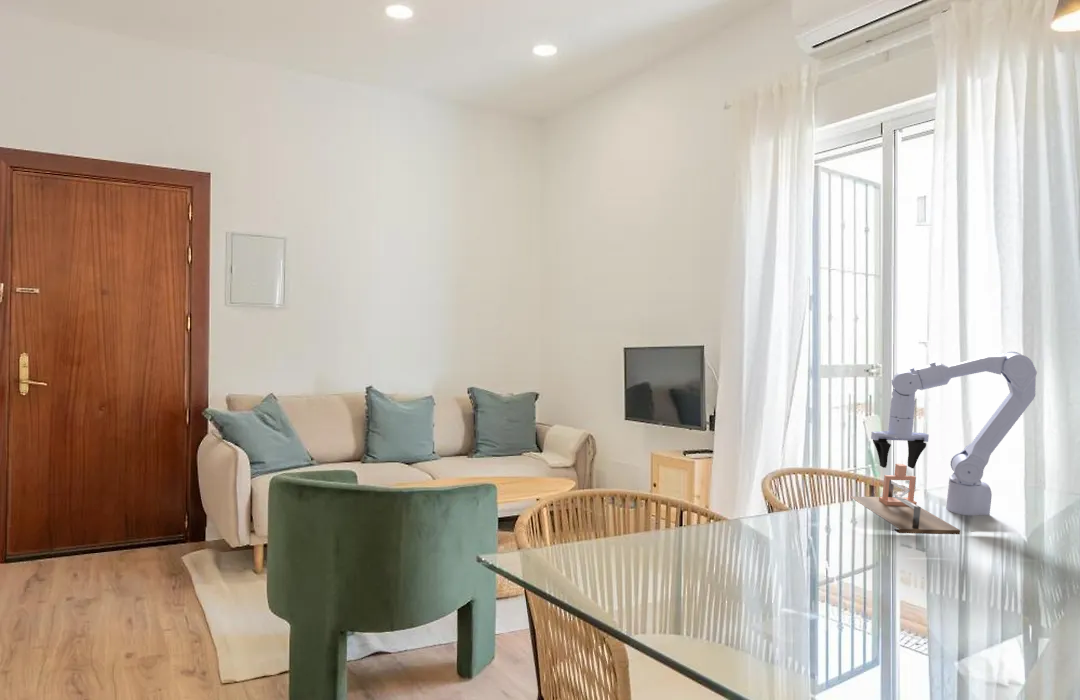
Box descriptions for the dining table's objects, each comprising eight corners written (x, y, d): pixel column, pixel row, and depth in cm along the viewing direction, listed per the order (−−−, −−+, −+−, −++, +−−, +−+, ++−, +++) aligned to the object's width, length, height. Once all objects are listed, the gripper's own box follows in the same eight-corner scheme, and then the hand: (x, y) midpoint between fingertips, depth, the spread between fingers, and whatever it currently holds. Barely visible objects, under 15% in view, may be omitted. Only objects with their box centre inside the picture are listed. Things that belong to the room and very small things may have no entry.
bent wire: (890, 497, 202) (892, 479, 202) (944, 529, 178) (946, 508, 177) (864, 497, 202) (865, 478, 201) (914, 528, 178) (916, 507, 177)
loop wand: (907, 501, 200) (911, 463, 199) (916, 505, 196) (920, 467, 195) (878, 500, 199) (882, 462, 198) (886, 505, 195) (890, 466, 194)
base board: (903, 501, 203) (903, 497, 203) (959, 534, 178) (960, 530, 178) (849, 500, 202) (850, 496, 202) (898, 533, 177) (899, 529, 177)
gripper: (920, 414, 201) (915, 463, 203) (867, 413, 201) (863, 462, 202) (935, 419, 194) (930, 470, 196) (880, 418, 194) (876, 469, 195)
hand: (897, 467), depth 198 cm, fingers open, 7 cm apart
